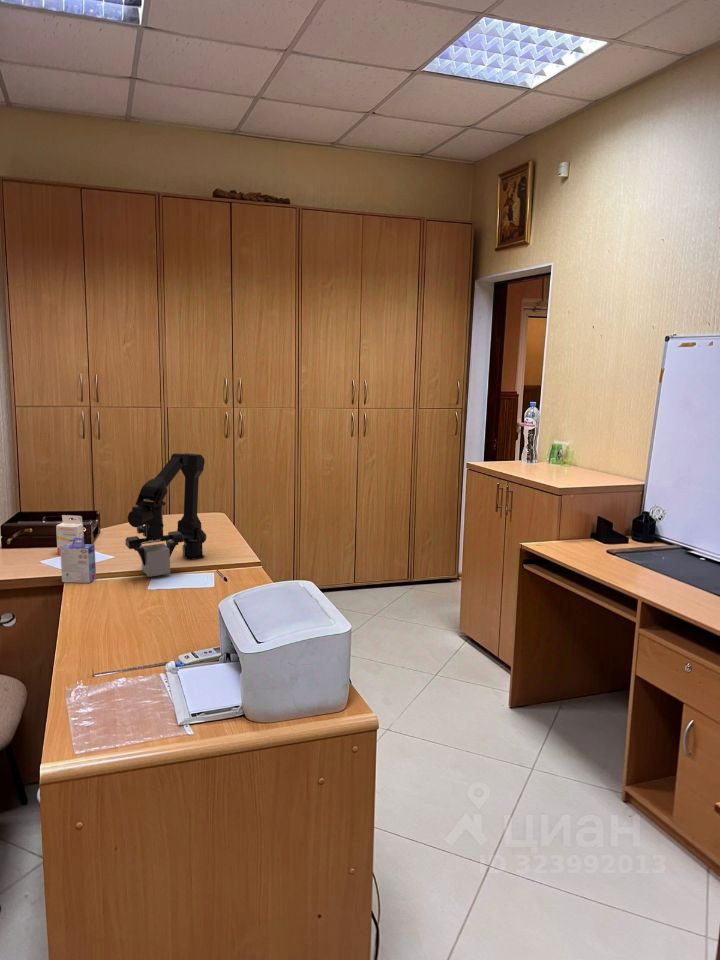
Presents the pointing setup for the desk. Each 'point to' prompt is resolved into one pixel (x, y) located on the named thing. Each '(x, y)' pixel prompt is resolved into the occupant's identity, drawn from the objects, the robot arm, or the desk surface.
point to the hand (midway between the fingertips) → (155, 563)
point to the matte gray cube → (156, 560)
